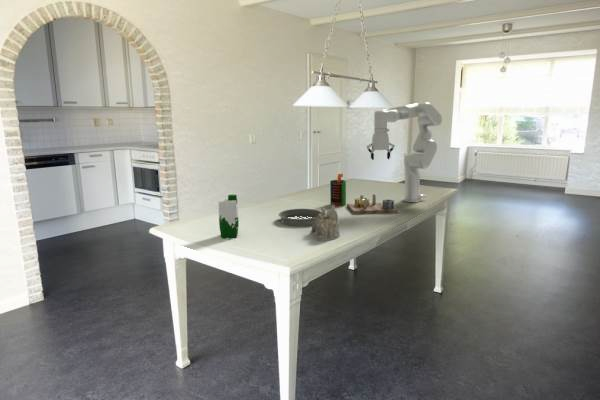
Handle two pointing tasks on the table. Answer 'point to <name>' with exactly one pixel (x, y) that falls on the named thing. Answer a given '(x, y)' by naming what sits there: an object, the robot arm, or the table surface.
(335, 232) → the grey rough lump
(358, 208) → the board
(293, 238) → the table surface
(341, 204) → the motor
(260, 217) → the table surface
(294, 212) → the cake pan
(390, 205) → the steel gear
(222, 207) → the milk carton
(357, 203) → the brass gear
